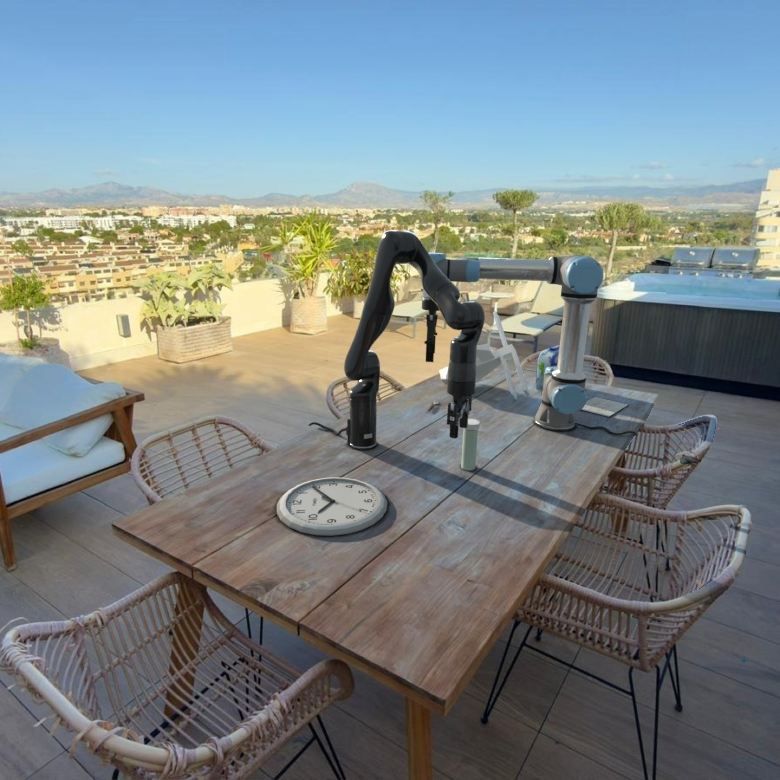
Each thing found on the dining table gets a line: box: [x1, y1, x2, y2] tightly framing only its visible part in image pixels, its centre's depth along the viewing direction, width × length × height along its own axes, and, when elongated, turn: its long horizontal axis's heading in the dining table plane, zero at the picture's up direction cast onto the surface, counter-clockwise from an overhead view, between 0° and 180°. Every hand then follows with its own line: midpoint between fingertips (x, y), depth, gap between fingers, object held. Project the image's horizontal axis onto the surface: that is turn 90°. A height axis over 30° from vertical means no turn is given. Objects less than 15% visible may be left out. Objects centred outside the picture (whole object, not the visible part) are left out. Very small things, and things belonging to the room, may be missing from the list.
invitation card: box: [580, 396, 629, 418], centre depth 226 cm, size 21×1×15 cm
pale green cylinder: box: [460, 428, 479, 471], centre depth 165 cm, size 4×4×15 cm
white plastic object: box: [438, 310, 531, 400], centre depth 245 cm, size 37×45×31 cm
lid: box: [463, 418, 481, 431], centre depth 162 cm, size 5×5×2 cm
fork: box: [427, 396, 442, 412], centre depth 222 cm, size 3×16×2 cm, turn 160°
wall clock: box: [276, 476, 388, 537], centre depth 142 cm, size 30×2×30 cm
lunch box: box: [535, 344, 560, 392], centre depth 247 cm, size 26×11×21 cm, turn 134°
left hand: (458, 432), depth 146 cm, fingers open, 8 cm apart
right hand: (430, 357), depth 190 cm, fingers open, 13 cm apart
